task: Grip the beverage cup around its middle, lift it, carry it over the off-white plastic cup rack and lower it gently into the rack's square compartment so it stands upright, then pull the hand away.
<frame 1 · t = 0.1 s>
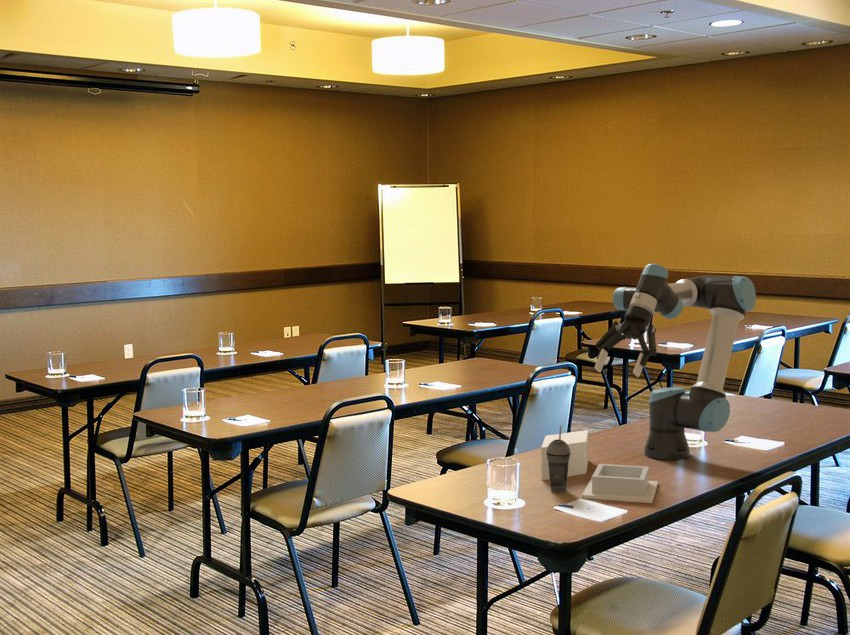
hand: (616, 372, 276), 36 cm above the table, tool tilted 35°, fingers open, 13 cm apart
beverage cup: (558, 491, 282), on the table
cup rack: (620, 491, 280), on the table
block: (565, 471, 305), on the table
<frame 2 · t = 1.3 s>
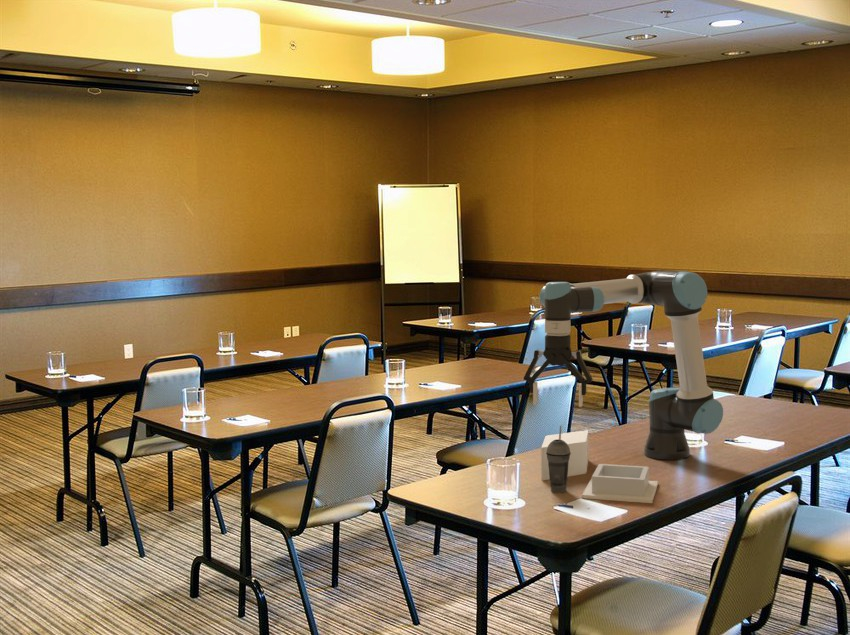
hand: (557, 405, 279), 26 cm above the table, tool pointing down, fingers open, 13 cm apart
nothing on the table moved.
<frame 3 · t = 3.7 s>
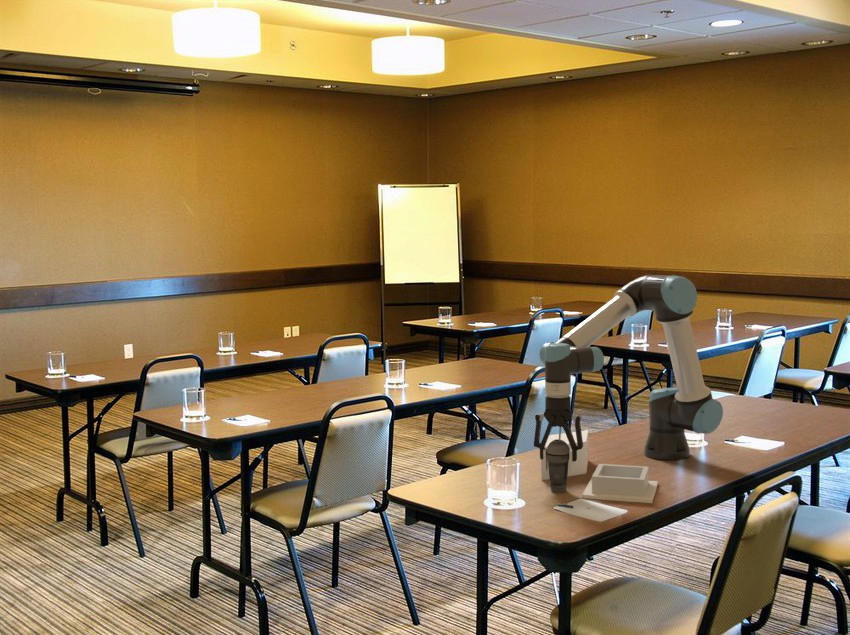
hand: (558, 470, 281), 6 cm above the table, tool pointing down, fingers closed on beverage cup, 7 cm apart
beverage cup: (558, 491, 282), on the table, touching gripper
everything else where it was.
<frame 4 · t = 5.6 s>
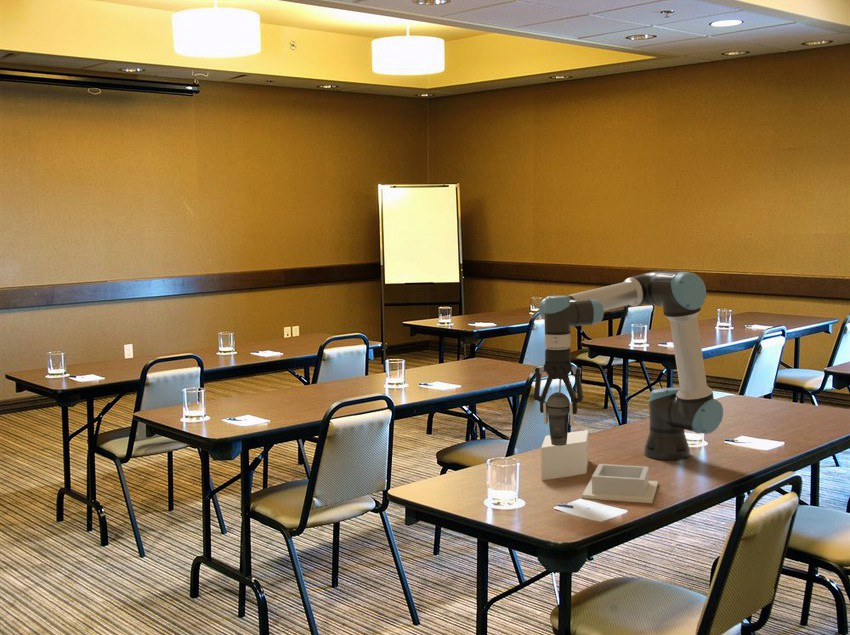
hand: (558, 423, 280), 20 cm above the table, tool pointing down, fingers closed on beverage cup, 7 cm apart
beverage cup: (559, 444, 281), point 14 cm above the table, touching gripper
everything else where it was.
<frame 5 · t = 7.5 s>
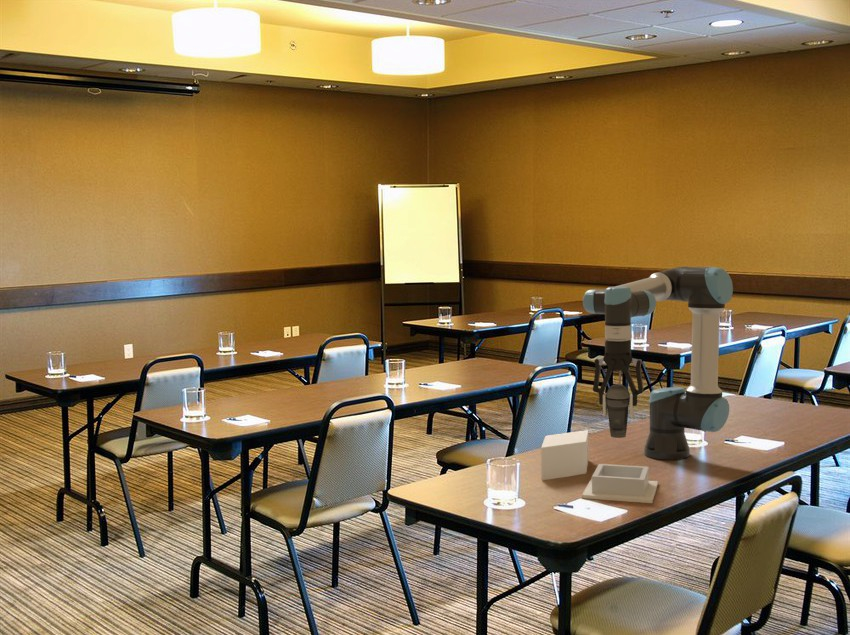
hand: (618, 415, 278), 23 cm above the table, tool pointing down, fingers closed on beverage cup, 7 cm apart
beverage cup: (618, 436, 278), point 17 cm above the table, touching gripper
everything else where it was.
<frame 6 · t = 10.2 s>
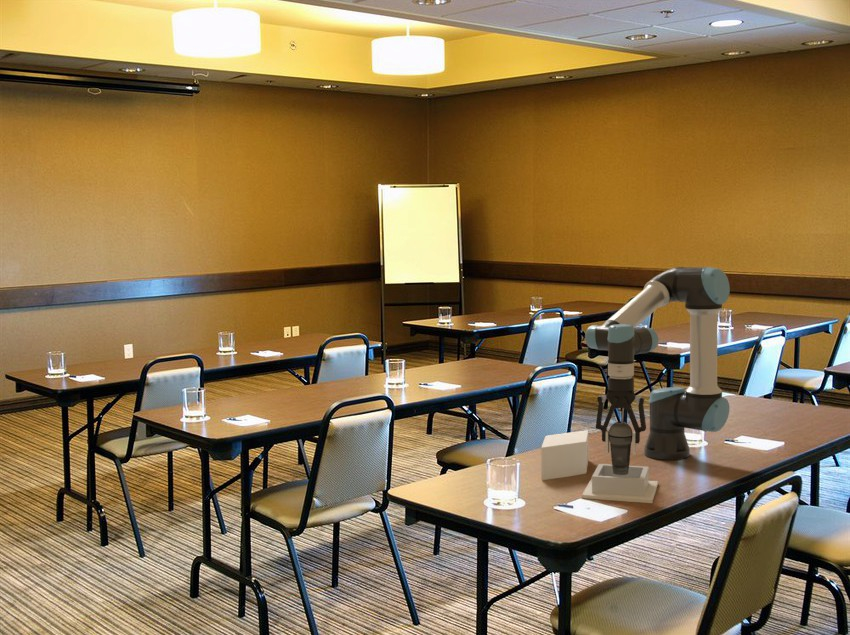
hand: (620, 453, 279), 12 cm above the table, tool pointing down, fingers closed on beverage cup, 7 cm apart
beverage cup: (620, 473, 279), point 5 cm above the table, touching gripper
everything else where it was.
when the fingers open (9 cm above the table, at t = 11.4 s): beverage cup drops 2 cm, resting on cup rack.
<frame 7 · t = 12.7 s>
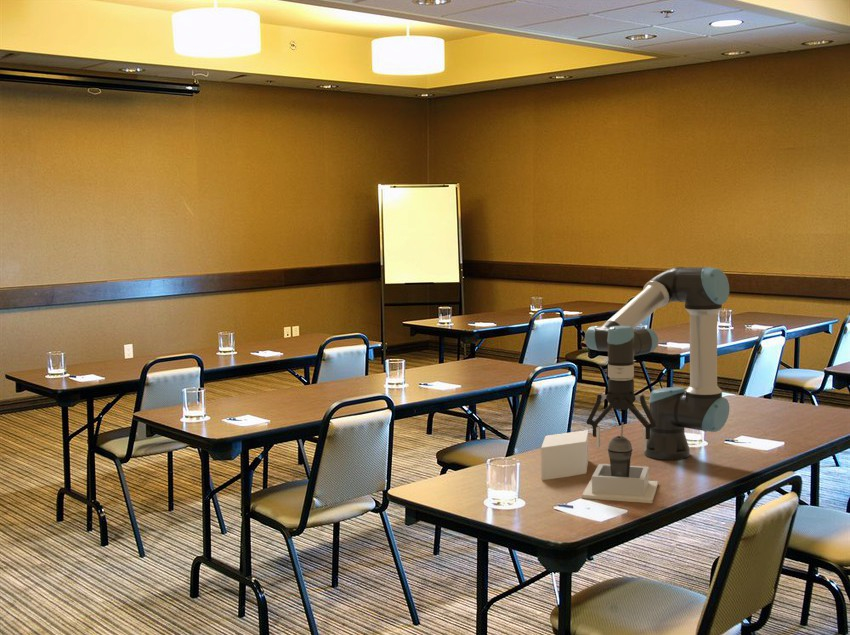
hand: (621, 448, 279), 13 cm above the table, tool pointing down, fingers open, 13 cm apart
beverage cup: (620, 488, 280), point 1 cm above the table, touching cup rack
everything else where it was.
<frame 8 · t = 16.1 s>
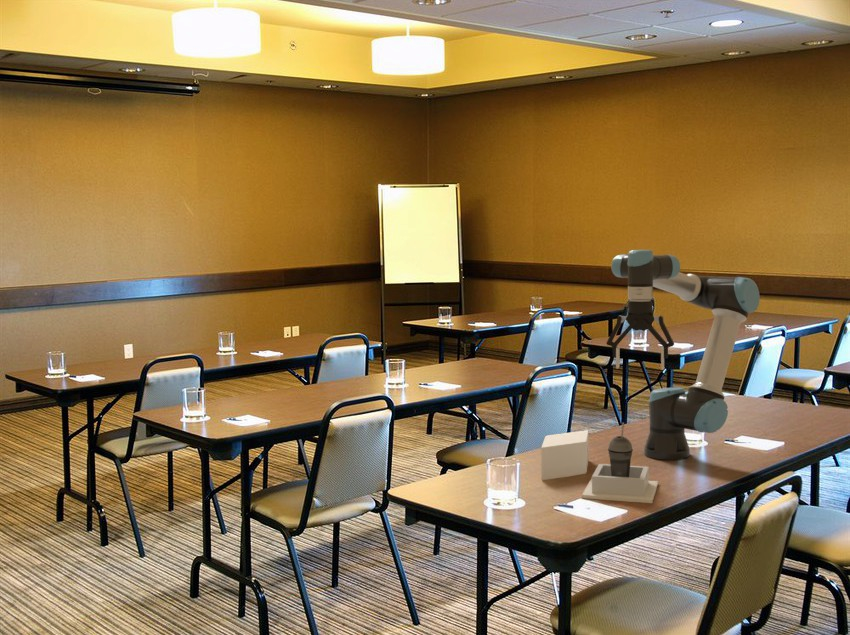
hand: (640, 368, 290), 35 cm above the table, tool pointing down, fingers open, 13 cm apart
nothing on the table moved.
at the end: beverage cup inside the target area on the cup rack (0.1 cm from its centre), point 0.8 cm above the cup rack's base; beverage cup tilted 0°; the gripper is holding nothing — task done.
